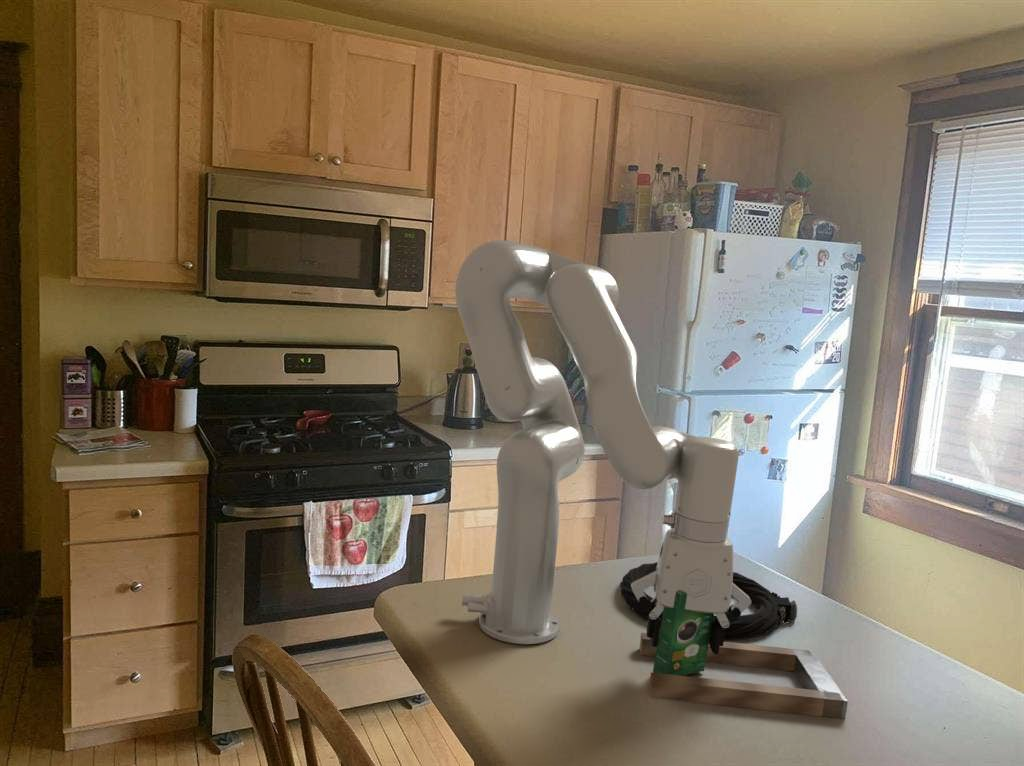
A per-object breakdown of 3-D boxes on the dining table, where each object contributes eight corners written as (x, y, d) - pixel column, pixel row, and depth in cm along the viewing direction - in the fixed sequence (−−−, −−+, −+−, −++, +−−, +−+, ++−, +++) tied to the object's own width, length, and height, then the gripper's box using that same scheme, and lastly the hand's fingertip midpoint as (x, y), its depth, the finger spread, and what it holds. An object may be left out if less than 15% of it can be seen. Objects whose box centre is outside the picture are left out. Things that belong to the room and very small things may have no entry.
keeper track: (650, 697, 101) (652, 679, 101) (639, 648, 115) (641, 632, 115) (845, 718, 100) (847, 701, 100) (810, 666, 114) (812, 650, 114)
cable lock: (625, 549, 149) (785, 572, 144) (623, 568, 150) (782, 592, 144) (616, 604, 122) (812, 636, 117) (613, 627, 123) (808, 659, 117)
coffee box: (691, 661, 112) (705, 577, 110) (706, 671, 109) (721, 586, 107) (651, 672, 107) (664, 585, 105) (665, 683, 105) (679, 593, 103)
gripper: (639, 528, 102) (624, 651, 105) (770, 543, 101) (752, 667, 104) (634, 511, 110) (619, 626, 112) (756, 525, 109) (739, 641, 111)
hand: (683, 645), depth 108 cm, fingers closed on coffee box, 8 cm apart
